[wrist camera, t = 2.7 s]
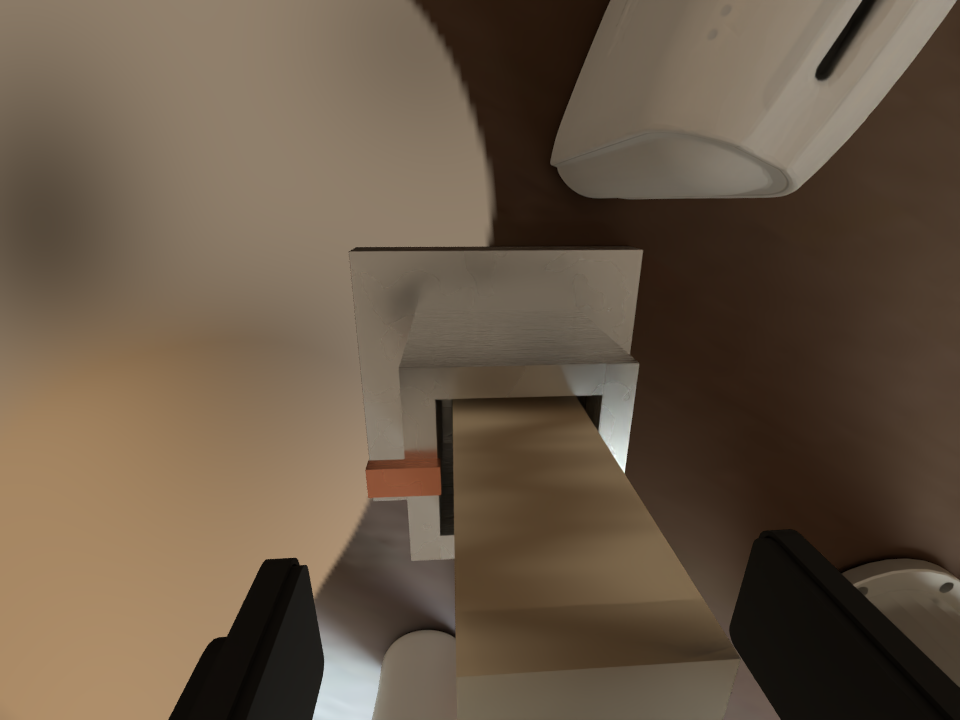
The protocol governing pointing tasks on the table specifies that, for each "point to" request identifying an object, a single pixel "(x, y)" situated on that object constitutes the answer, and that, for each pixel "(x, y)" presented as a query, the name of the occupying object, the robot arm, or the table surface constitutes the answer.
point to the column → (569, 579)
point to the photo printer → (730, 92)
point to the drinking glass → (418, 678)
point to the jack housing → (484, 355)
